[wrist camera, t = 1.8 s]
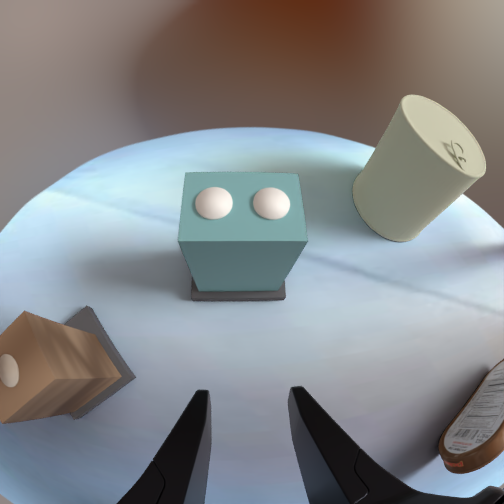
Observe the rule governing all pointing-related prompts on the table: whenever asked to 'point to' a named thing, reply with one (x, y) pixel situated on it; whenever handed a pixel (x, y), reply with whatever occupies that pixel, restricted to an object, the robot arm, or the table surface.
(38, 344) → the brown box
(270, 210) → the teal block
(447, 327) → the table surface
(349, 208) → the table surface
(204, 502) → the robot arm
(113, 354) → the socket
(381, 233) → the can
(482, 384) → the tin
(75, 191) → the table surface
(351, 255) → the table surface
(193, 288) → the socket
